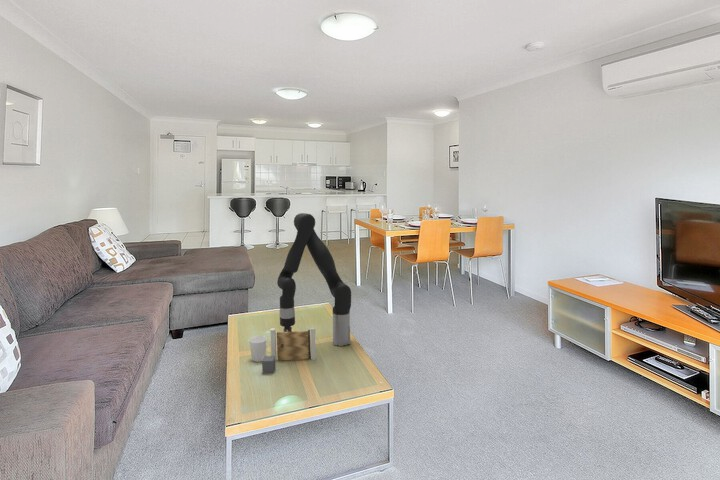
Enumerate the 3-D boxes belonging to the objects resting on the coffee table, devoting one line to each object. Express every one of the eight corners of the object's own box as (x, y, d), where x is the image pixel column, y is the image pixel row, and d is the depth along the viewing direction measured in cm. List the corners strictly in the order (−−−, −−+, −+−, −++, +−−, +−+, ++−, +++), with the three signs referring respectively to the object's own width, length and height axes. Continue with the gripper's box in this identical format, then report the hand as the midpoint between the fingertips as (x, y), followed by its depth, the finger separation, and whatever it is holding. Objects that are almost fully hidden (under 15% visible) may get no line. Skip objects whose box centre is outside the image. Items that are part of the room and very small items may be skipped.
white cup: (258, 363, 176) (257, 344, 175) (247, 359, 181) (246, 340, 179) (270, 357, 183) (269, 338, 182) (259, 353, 187) (258, 335, 186)
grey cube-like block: (275, 367, 173) (275, 355, 172) (273, 373, 168) (273, 360, 167) (264, 368, 172) (264, 356, 171) (262, 373, 167) (262, 361, 166)
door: (310, 358, 182) (310, 329, 180) (310, 360, 179) (309, 331, 177) (277, 359, 180) (276, 330, 178) (277, 362, 178) (276, 332, 176)
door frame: (315, 358, 182) (315, 327, 180) (315, 359, 180) (314, 328, 178) (272, 359, 181) (271, 328, 178) (271, 361, 179) (270, 330, 176)
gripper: (294, 319, 178) (295, 353, 181) (295, 310, 191) (296, 342, 193) (278, 320, 177) (279, 354, 179) (280, 311, 190) (281, 343, 192)
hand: (288, 348), depth 186 cm, fingers closed
